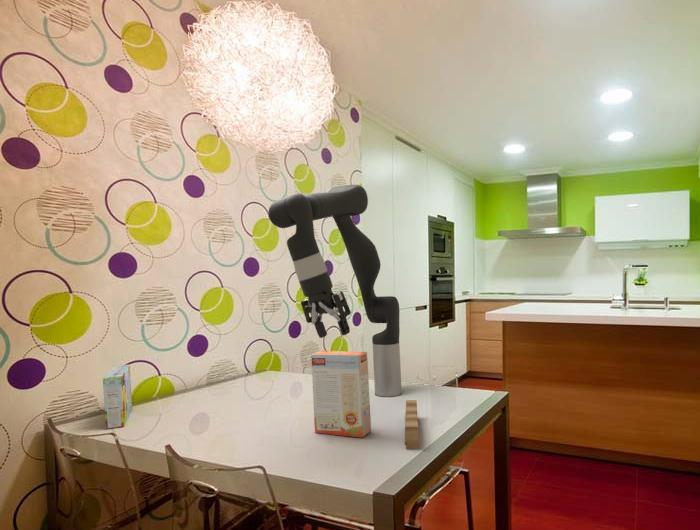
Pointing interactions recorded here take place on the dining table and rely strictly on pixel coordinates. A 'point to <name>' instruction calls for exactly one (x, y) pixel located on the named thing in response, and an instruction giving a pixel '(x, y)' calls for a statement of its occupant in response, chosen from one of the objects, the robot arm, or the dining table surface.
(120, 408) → the snack box
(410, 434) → the notched wooden bar
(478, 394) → the dining table surface
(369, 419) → the cracker box
